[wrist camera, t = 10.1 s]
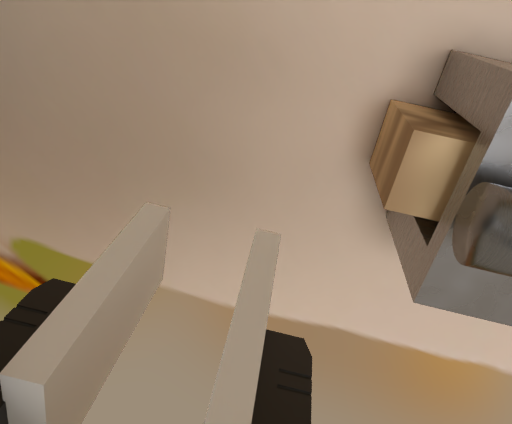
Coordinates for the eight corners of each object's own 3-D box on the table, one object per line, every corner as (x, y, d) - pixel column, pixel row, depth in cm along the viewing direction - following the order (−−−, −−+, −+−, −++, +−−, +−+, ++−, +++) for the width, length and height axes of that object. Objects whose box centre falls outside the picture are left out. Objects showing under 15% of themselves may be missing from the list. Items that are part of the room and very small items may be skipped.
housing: (385, 216, 34) (430, 354, 21) (451, 49, 28) (574, 93, 14) (458, 233, 34) (549, 383, 20) (540, 69, 28) (746, 132, 14)
